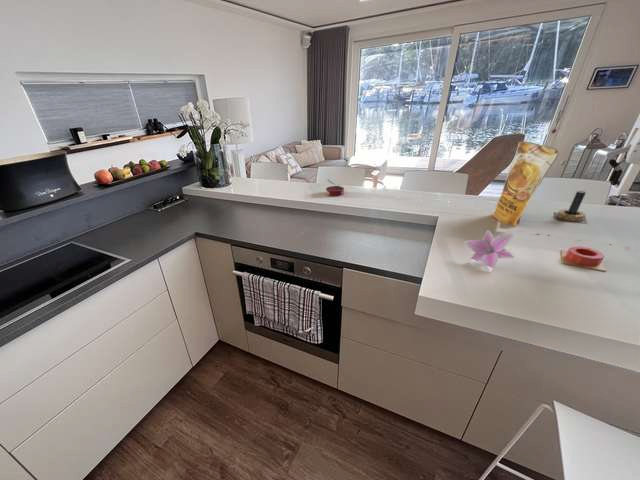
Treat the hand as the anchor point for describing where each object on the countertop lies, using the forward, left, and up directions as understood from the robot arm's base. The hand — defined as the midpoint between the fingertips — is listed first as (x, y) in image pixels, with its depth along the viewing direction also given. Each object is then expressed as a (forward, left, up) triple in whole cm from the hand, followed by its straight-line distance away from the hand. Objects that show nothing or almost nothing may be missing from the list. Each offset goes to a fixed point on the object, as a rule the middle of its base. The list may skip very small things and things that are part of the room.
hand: (638, 185), depth 78 cm
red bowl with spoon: (+104, -21, -20) cm, 108 cm away
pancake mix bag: (+25, -14, -20) cm, 35 cm away
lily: (+28, +25, -20) cm, 42 cm away
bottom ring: (+7, -23, -19) cm, 31 cm away
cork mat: (+5, +11, -20) cm, 23 cm away
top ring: (+5, +11, -20) cm, 23 cm away
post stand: (+7, -23, -20) cm, 31 cm away
